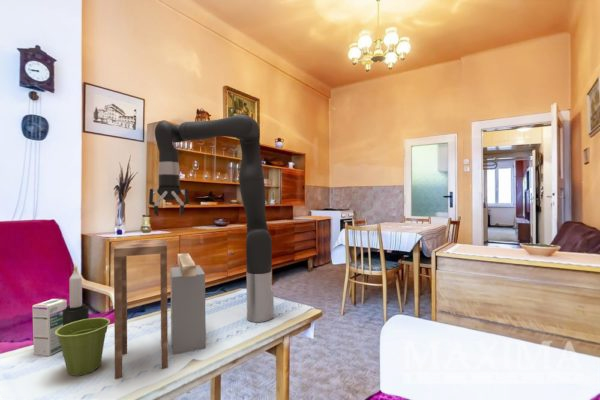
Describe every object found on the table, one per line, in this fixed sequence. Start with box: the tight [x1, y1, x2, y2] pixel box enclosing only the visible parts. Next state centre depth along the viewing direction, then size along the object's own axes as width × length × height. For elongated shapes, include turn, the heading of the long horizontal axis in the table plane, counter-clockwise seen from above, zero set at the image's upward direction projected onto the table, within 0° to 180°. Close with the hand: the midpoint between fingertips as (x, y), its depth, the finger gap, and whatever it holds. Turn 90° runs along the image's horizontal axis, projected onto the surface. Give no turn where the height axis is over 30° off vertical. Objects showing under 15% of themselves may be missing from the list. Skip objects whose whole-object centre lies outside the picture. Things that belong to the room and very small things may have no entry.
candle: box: [63, 265, 90, 326], centre depth 90 cm, size 5×5×25 cm
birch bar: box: [177, 252, 196, 277], centre depth 100 cm, size 4×24×3 cm, turn 25°
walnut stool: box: [113, 238, 169, 380], centre depth 86 cm, size 12×15×32 cm
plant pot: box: [55, 317, 111, 377], centre depth 81 cm, size 12×12×11 cm
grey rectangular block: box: [169, 264, 207, 355], centre depth 97 cm, size 9×14×22 cm, turn 25°
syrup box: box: [32, 298, 68, 357], centre depth 91 cm, size 6×6×14 cm
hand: (169, 215), depth 121 cm, fingers open, 8 cm apart
